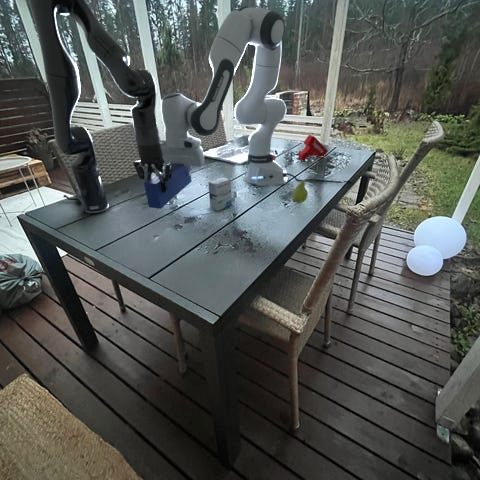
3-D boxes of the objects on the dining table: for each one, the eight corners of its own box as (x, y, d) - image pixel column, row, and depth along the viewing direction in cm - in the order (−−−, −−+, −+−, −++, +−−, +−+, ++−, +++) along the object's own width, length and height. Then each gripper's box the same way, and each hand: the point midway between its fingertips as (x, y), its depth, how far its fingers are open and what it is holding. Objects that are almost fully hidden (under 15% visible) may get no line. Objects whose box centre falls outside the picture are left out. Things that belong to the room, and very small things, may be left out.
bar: (181, 180, 119) (178, 159, 114) (191, 181, 118) (189, 160, 113) (148, 207, 97) (143, 182, 92) (160, 208, 96) (156, 183, 91)
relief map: (240, 164, 168) (240, 156, 165) (199, 155, 186) (198, 147, 183) (263, 154, 186) (264, 146, 184) (224, 147, 204) (224, 140, 201)
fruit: (288, 200, 123) (290, 174, 116) (302, 197, 125) (305, 172, 119) (296, 206, 118) (299, 179, 111) (310, 203, 120) (314, 177, 114)
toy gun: (299, 156, 169) (313, 135, 166) (294, 155, 172) (308, 134, 169) (314, 170, 180) (328, 150, 177) (310, 169, 183) (323, 149, 180)
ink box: (224, 201, 122) (223, 176, 116) (231, 205, 119) (231, 179, 113) (209, 207, 117) (207, 181, 111) (217, 211, 114) (215, 184, 108)
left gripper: (122, 143, 86) (134, 193, 95) (162, 145, 83) (171, 197, 92) (135, 138, 92) (145, 185, 101) (174, 140, 89) (180, 189, 98)
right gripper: (149, 141, 105) (155, 175, 113) (198, 144, 101) (201, 179, 108) (157, 137, 110) (162, 170, 118) (204, 140, 106) (207, 174, 113)
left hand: (157, 190), depth 97 cm, fingers closed on bar, 4 cm apart
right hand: (181, 175), depth 113 cm, fingers closed on bar, 5 cm apart
